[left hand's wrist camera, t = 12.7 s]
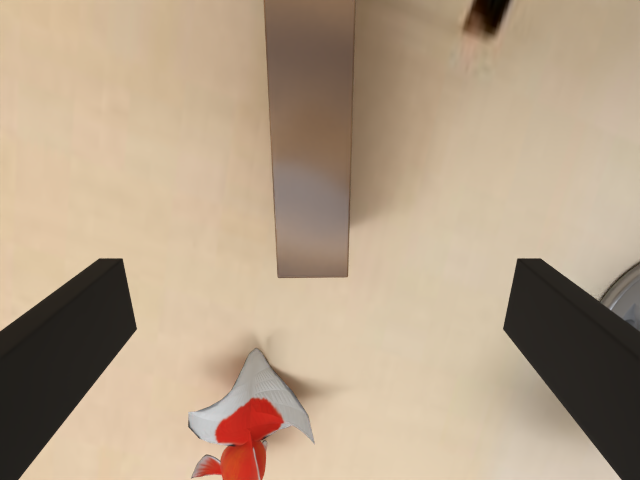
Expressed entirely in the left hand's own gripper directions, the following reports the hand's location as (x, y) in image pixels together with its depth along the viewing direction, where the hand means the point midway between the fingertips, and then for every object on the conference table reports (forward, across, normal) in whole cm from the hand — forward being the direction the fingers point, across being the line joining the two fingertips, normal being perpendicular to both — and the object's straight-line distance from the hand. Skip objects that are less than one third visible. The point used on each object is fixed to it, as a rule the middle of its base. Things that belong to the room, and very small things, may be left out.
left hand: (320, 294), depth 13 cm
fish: (+19, +7, +23) cm, 30 cm away
